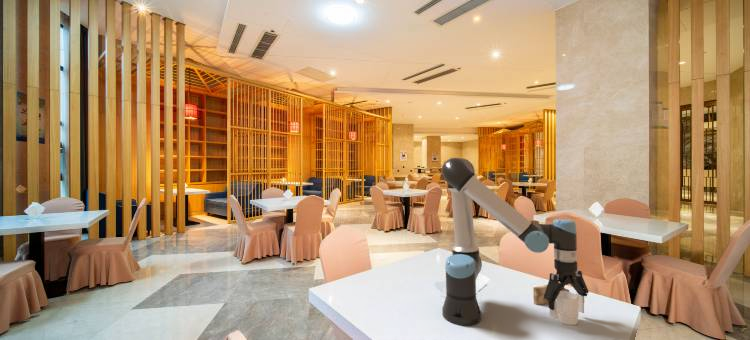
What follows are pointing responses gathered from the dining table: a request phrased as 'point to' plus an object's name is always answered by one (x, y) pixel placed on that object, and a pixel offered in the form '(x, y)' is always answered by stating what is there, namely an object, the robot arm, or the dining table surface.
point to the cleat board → (542, 294)
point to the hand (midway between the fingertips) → (567, 314)
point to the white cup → (567, 307)
